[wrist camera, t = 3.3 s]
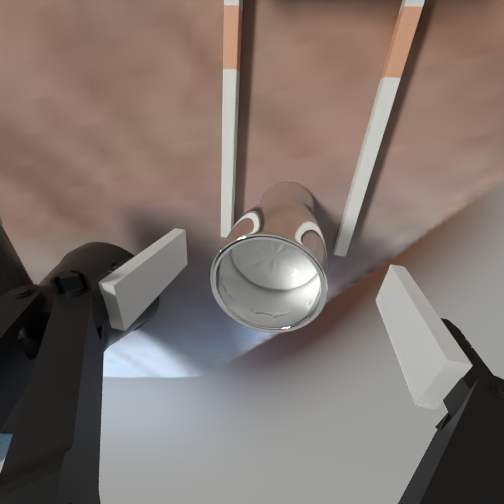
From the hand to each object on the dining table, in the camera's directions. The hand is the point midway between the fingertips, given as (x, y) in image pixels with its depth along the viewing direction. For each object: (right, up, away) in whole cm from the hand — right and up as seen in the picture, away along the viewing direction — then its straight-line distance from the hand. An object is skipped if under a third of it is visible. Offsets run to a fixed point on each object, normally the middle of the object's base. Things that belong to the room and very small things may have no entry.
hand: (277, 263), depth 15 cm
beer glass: (+2, +6, +11) cm, 12 cm away
